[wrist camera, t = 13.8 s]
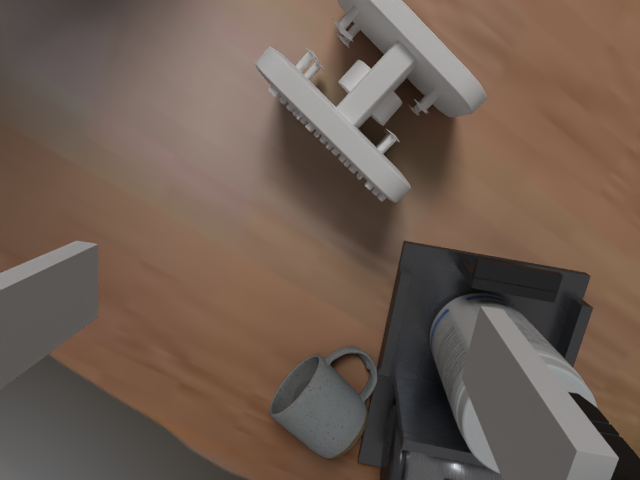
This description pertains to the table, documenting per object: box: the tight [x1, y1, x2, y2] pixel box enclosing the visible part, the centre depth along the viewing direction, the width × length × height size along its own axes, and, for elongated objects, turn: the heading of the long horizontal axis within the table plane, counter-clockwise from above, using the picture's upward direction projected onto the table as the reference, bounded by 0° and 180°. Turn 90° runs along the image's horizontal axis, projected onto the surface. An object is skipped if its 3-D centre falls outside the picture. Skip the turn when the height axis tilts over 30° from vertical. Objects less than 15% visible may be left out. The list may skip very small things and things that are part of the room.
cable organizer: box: [255, 0, 487, 203], centre depth 36 cm, size 15×11×12 cm
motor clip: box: [358, 241, 593, 480], centre depth 41 cm, size 27×18×12 cm, turn 171°
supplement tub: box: [430, 293, 598, 474], centre depth 37 cm, size 10×10×15 cm
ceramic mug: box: [269, 346, 377, 459], centre depth 45 cm, size 11×8×8 cm
